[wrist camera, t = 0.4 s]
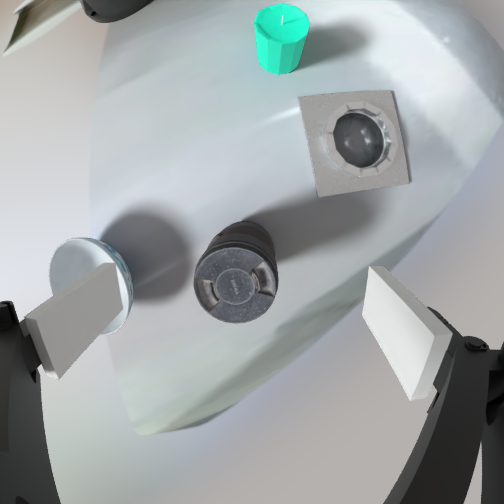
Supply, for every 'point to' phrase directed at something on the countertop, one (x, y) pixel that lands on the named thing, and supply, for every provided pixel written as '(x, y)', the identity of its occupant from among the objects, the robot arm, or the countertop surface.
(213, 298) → the camera lens
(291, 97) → the countertop surface
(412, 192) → the countertop surface
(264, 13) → the candle
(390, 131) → the duct flange
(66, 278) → the chinaware
